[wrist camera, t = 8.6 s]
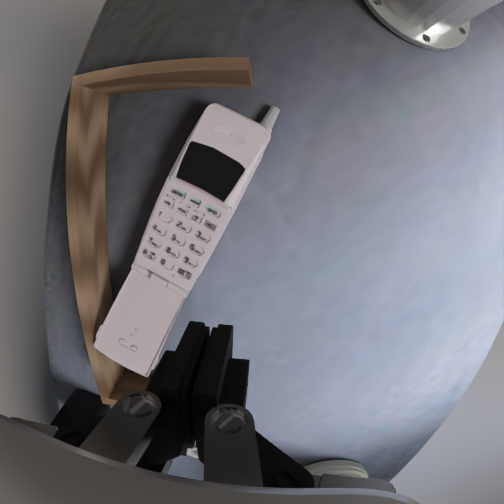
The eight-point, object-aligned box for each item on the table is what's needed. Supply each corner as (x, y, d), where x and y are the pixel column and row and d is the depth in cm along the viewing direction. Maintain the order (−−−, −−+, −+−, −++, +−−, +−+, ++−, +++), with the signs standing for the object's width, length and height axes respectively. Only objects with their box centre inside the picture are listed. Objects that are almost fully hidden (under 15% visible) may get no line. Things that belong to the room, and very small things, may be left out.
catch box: (101, 87, 23) (72, 76, 18) (252, 76, 22) (249, 57, 18) (119, 376, 31) (102, 403, 26) (238, 393, 31) (233, 426, 26)
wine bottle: (73, 385, 33) (-37, 549, 4) (110, 399, 33) (10, 586, 4) (80, 413, 34) (-9, 566, 5) (115, 426, 34) (35, 595, 5)
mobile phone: (90, 349, 24) (211, 63, 17) (116, 319, 29) (223, 84, 23) (148, 382, 24) (294, 102, 18) (166, 347, 30) (287, 115, 23)
